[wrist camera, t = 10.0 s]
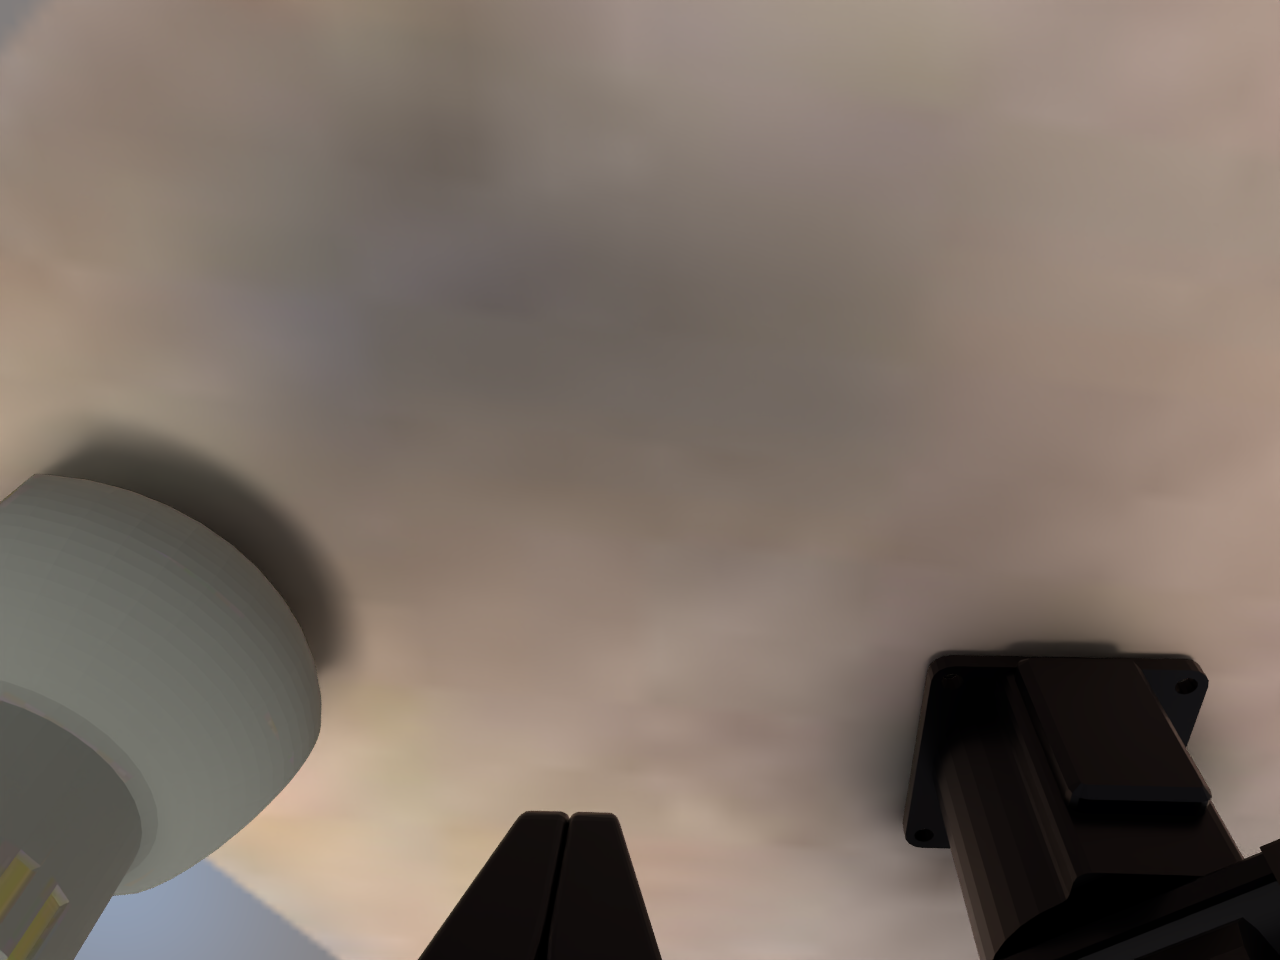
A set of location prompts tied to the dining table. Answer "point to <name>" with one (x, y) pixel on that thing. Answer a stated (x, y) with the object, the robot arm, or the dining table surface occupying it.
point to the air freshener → (131, 703)
